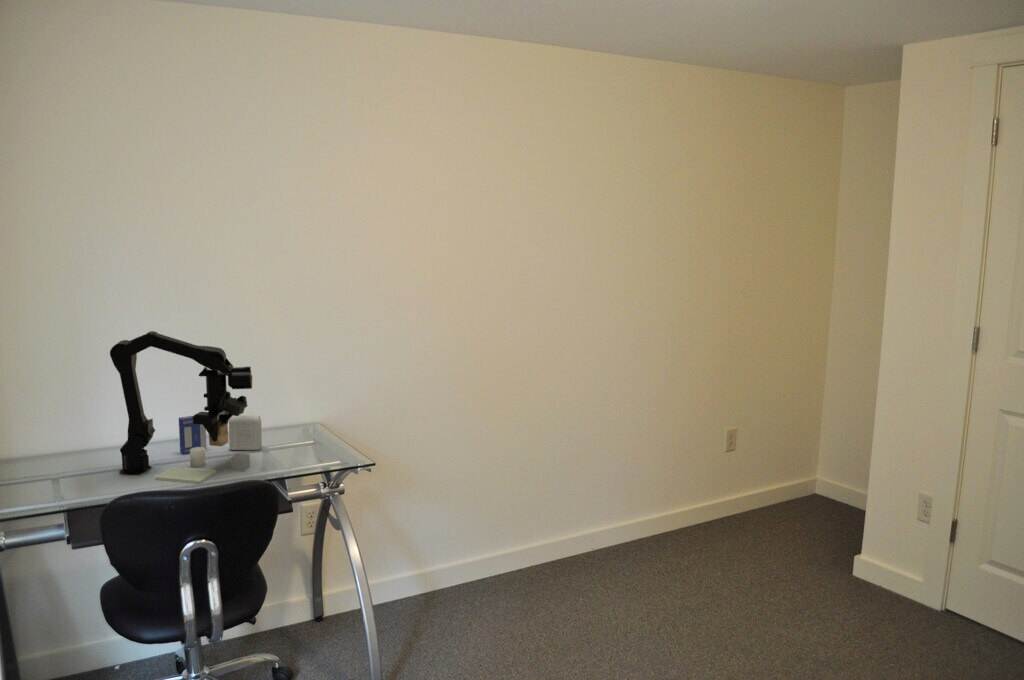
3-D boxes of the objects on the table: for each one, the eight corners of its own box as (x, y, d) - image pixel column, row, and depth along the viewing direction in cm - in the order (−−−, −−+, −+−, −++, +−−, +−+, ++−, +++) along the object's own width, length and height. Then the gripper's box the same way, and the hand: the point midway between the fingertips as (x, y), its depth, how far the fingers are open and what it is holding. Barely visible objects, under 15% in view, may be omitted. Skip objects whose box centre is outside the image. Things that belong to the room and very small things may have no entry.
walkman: (182, 454, 242) (180, 418, 240) (180, 452, 244) (178, 416, 242) (207, 450, 246) (206, 415, 244) (205, 448, 249) (204, 413, 246)
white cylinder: (187, 466, 232) (186, 450, 231) (195, 461, 236) (194, 446, 235) (201, 467, 231) (200, 452, 230) (208, 462, 235) (208, 447, 234)
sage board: (155, 479, 220) (155, 477, 220) (173, 469, 229) (172, 466, 229) (199, 483, 218) (199, 480, 218) (216, 472, 227) (216, 470, 227)
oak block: (209, 445, 230) (208, 426, 229) (216, 441, 234) (215, 422, 232) (221, 446, 229) (220, 427, 228) (228, 442, 233) (227, 423, 232)
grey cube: (231, 470, 230) (230, 457, 229) (237, 465, 234) (237, 453, 233) (243, 471, 229) (243, 458, 229) (249, 466, 233) (249, 454, 233)
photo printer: (263, 446, 252) (262, 411, 250) (260, 450, 248) (259, 414, 246) (231, 447, 251) (229, 411, 248) (228, 451, 246) (226, 414, 244)
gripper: (225, 399, 218) (227, 450, 221) (256, 384, 236) (257, 431, 239) (190, 396, 220) (192, 447, 222) (222, 382, 238) (224, 429, 241)
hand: (218, 438), depth 231 cm, fingers closed on oak block, 4 cm apart
